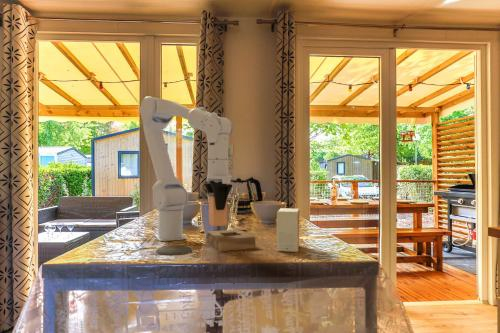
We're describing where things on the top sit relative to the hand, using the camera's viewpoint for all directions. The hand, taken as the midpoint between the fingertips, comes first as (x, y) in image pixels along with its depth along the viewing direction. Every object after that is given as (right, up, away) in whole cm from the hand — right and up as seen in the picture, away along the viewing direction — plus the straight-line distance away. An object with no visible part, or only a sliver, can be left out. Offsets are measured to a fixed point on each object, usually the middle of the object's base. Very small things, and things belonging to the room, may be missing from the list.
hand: (217, 208), depth 93 cm
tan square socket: (+4, -10, +2) cm, 11 cm away
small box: (+19, -11, -2) cm, 22 cm away
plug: (0, -4, 0) cm, 4 cm away
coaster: (-11, -10, -6) cm, 16 cm away
